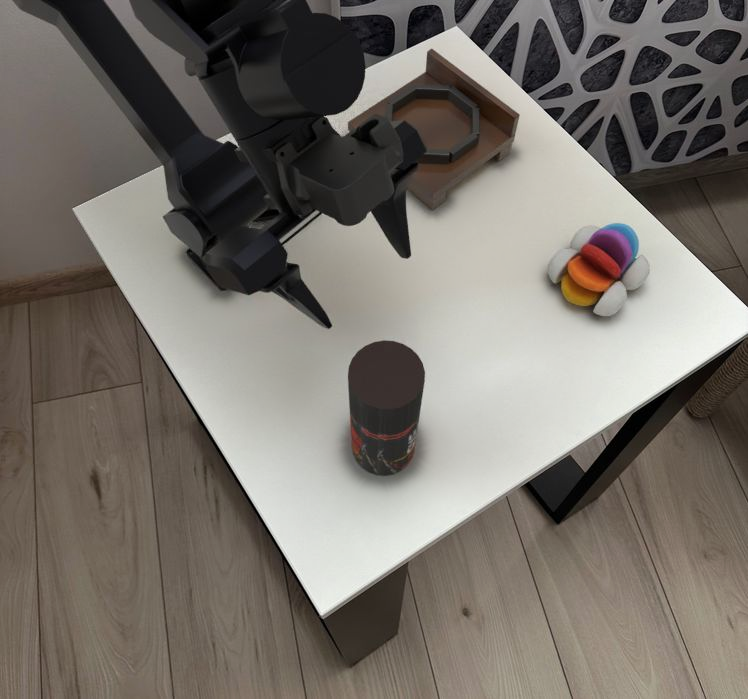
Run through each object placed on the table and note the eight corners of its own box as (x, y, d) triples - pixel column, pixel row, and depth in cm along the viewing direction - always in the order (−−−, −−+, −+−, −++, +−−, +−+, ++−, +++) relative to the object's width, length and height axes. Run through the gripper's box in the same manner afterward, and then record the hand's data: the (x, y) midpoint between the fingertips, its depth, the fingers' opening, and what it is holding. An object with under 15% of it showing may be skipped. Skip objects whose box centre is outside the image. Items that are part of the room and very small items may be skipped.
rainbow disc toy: (533, 285, 81) (547, 244, 74) (587, 231, 84) (605, 187, 78) (600, 333, 78) (620, 295, 72) (652, 275, 81) (676, 233, 75)
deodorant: (408, 481, 71) (417, 416, 57) (345, 468, 71) (340, 401, 58) (419, 422, 73) (431, 347, 60) (358, 411, 74) (356, 334, 61)
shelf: (348, 140, 90) (347, 101, 85) (428, 88, 94) (431, 48, 89) (430, 211, 85) (434, 175, 80) (511, 152, 90) (520, 114, 84)
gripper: (216, 196, 45) (341, 390, 52) (428, 37, 51) (512, 229, 59) (150, 192, 54) (265, 358, 61) (338, 56, 60) (421, 222, 68)
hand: (368, 291), depth 62 cm, fingers open, 9 cm apart
